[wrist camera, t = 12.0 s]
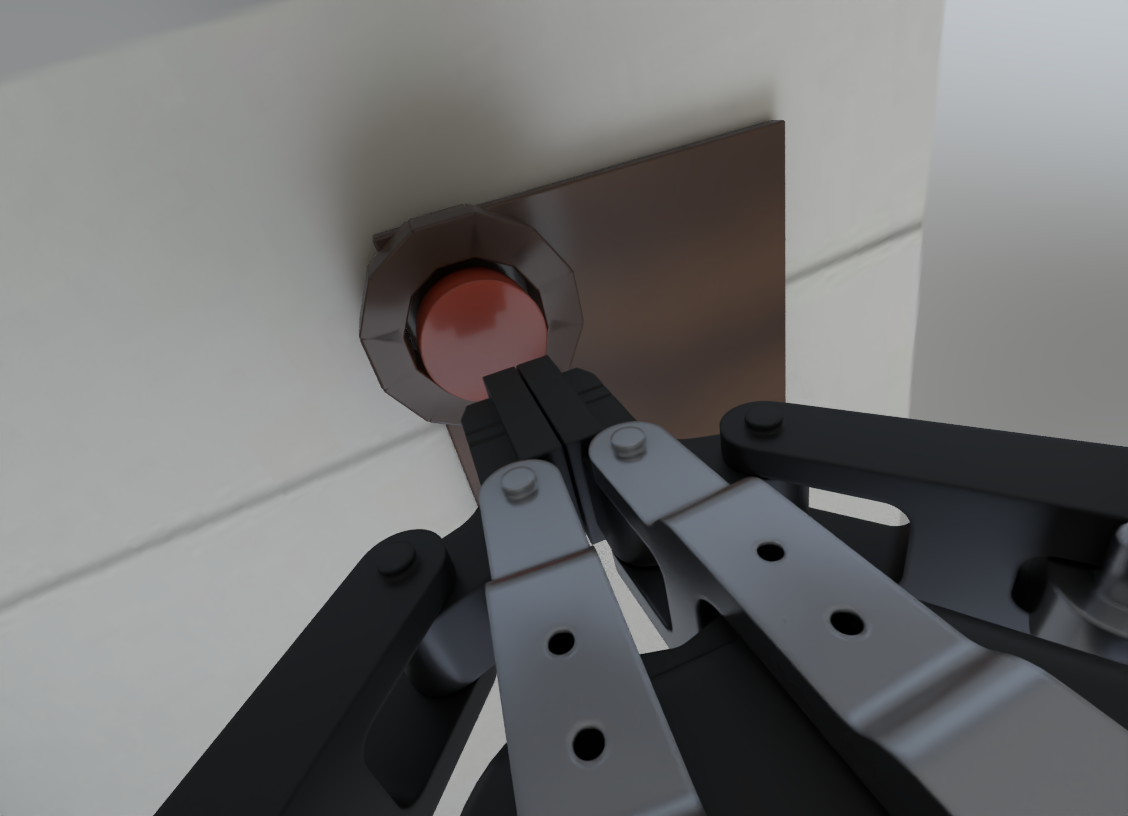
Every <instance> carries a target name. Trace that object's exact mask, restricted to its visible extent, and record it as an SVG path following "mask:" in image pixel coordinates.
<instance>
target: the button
mask: <svg viewBox="0 0 1128 816" xmlns="http://www.w3.org/2000/svg"><path fill="white" fill-rule="evenodd" d="M415 327H416V337H417V342H418V346H419V350H420V354H421V358H422V361H423V364H424V366H425V368H426V370H427V372H428V374H429V375H430V377H431V378H432V379H433V380H434V382H435V383H436V384H437V385H438V386H440V387H441V388H442V389H443V390H445V391H446V392H448V393H449V394H451V395H453V396H456V397H458V398H461V399H464V400H470V401H482V400H485V399H488V398H489V397H488V394H487V391H486V388H485V385H484V382H483V378H482V377H484V376H487V375H490V374H492V373H495V372H498V371H501V370H504V369H507V368H510V367H513V366H514V367H515V369H516V365H519V364H522V363H525V362H527V361H530V360H533V359H536V358H539V357H542V356H545V353H546V348H547V339H548V338H547V327H546V322H545V319H544V316H543V314H542V312H541V310H540V308H539V307H538V305H537V304H536V302H535V301H534V300H533V299H532V298H531V297H530V296H529V295H528V294H527V293H526V292H525V290H524V289H523V288H522V287H521V286H520V285H519V284H518V283H517V282H515V281H514V280H513V279H512V278H510V277H509V276H507V275H506V274H504V273H501V272H499V271H496V270H493V269H489V268H483V267H471V268H464V269H460V270H457V271H454V272H452V273H449V274H448V275H446V276H444V277H442V278H441V279H440V280H438V281H437V282H436V283H435V284H434V285H433V286H432V287H431V288H430V289H429V290H428V291H427V293H426V294H425V296H424V297H423V299H422V301H421V303H420V305H419V308H418V311H417V315H416V323H415Z"/></svg>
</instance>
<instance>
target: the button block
mask: <svg viewBox="0 0 1128 816" xmlns="http://www.w3.org/2000/svg"><path fill="white" fill-rule="evenodd" d="M373 242H374V244H375V247H376V249H377V252H378V253H377V254H376V256H375V257H374V258H373V259H372V260H371V261H370V263H369V264H368V266H367V273H366V280H365V286H364V293H363V299H362V306H361V312H360V322H359V338H360V341H361V344H362V346H363V348H364V350H365V353H366V355H367V357H368V359H369V361H370V364H371V366H372V368H373V370H374V373H375V375H376V377H377V379H378V381H379V384H380V386H381V388H382V389H383V390H384V392H385V393H387V394H388V395H390V396H391V397H393V398H394V399H395V400H397V401H398V402H400V403H401V404H403V405H404V406H406V407H407V408H408V409H410V410H411V411H413V412H414V413H416V414H417V415H419V416H420V417H421V418H423V419H424V420H426V421H429V422H431V423H440V424H446V426H447V429H448V431H449V434H450V436H451V439H452V442H453V444H454V447H455V449H456V452H457V454H458V457H459V459H460V462H461V464H462V467H463V469H464V472H465V474H466V477H467V480H468V482H469V485H470V487H471V490H472V492H473V495H474V497H475V500H476V502H477V505H478V506H479V491H480V488H481V485H480V481H479V478H478V475H477V472H476V468H475V465H474V462H473V459H472V455H471V452H470V449H469V445H468V442H467V439H466V436H465V433H464V430H463V426H462V423H461V418H462V416H463V413H464V411H465V409H466V406H467V405H470V404H473V403H476V402H479V401H470V400H464V399H461V398H458V397H456V396H453V395H451V394H449V393H448V392H446V391H445V390H443V389H442V388H441V387H440V386H438V385H437V384H436V383H435V382H434V380H433V379H432V378H431V377H430V375H429V374H428V372H427V370H426V368H425V366H424V364H423V361H422V358H421V354H420V350H419V346H418V342H417V337H416V327H415V323H416V315H417V311H418V308H419V305H420V303H421V301H422V299H423V297H424V296H425V294H426V293H427V291H428V290H429V289H430V288H431V287H432V286H433V285H434V284H435V283H436V282H437V281H438V280H440V279H441V278H442V277H444V276H446V275H448V274H449V273H452V272H454V271H457V270H460V269H464V268H471V267H483V268H489V269H493V270H496V271H499V272H501V273H504V274H506V275H507V276H509V277H510V278H512V279H513V280H514V281H515V282H517V283H518V284H519V285H520V286H521V287H522V288H523V289H524V290H525V292H526V293H527V294H528V295H529V296H530V297H531V298H532V299H533V300H534V301H535V302H536V304H537V305H538V307H539V308H540V310H541V312H542V314H543V316H544V319H545V322H546V327H547V338H548V339H547V348H546V353H545V355H548V356H549V357H550V358H551V360H552V361H553V362H554V364H555V365H556V366H557V367H558V369H559V370H560V371H561V373H562V372H565V371H568V370H571V369H574V368H580V369H583V370H585V371H588V372H591V373H594V374H595V375H596V376H597V378H598V379H599V380H600V381H601V382H602V383H603V384H604V386H606V387H607V389H608V390H609V391H610V392H611V394H612V395H614V396H615V397H616V398H617V400H618V401H619V402H620V403H621V404H622V405H623V406H624V407H625V408H626V410H627V411H628V412H629V413H630V414H631V415H632V416H633V417H634V418H635V419H636V421H644V422H650V423H653V424H656V425H659V426H661V427H662V428H664V429H665V430H666V431H667V432H668V433H670V434H671V435H672V436H673V437H674V438H676V439H691V438H698V437H704V436H711V435H717V434H720V427H719V425H720V421H721V418H722V417H723V416H724V414H725V413H727V412H728V411H729V410H731V409H732V408H734V407H736V406H739V405H742V404H745V403H749V402H755V401H776V402H784V403H785V121H784V120H771V121H768V122H764V123H761V124H757V125H754V126H750V127H747V128H743V129H740V130H736V131H733V132H729V133H726V134H722V135H719V136H715V137H712V138H708V139H705V140H702V141H698V142H695V143H691V144H688V145H684V146H681V147H677V148H674V149H670V150H667V151H663V152H660V153H656V154H653V155H649V156H646V157H642V158H639V159H636V160H632V161H629V162H625V163H622V164H618V165H615V166H611V167H608V168H604V169H601V170H597V171H594V172H590V173H587V174H583V175H580V176H576V177H573V178H570V179H566V180H563V181H559V182H556V183H552V184H549V185H545V186H542V187H538V188H535V189H531V190H528V191H524V192H521V193H517V194H514V195H510V196H507V197H504V198H500V199H497V200H493V201H490V202H486V203H483V204H479V205H476V206H472V205H469V204H465V205H464V204H461V205H457V206H454V207H450V208H447V209H443V210H440V211H436V212H433V213H429V214H426V215H422V216H419V217H416V218H412V219H410V220H408V221H407V222H405V223H404V224H403V225H402V226H401V227H399V228H396V229H392V230H389V231H385V232H382V233H378V234H375V235H374V236H373ZM406 326H407V328H408V330H409V333H410V335H411V338H412V340H413V343H414V345H415V348H416V350H417V351H416V350H415V349H414V348H413V345H412V343H411V340H410V338H409V335H408V333H407V330H406Z"/></svg>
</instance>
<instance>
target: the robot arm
mask: <svg viewBox="0 0 1128 816" xmlns="http://www.w3.org/2000/svg"><path fill="white" fill-rule="evenodd" d="M482 378H483V382H484V385H485V388H486V391H487V394H488V397H489V398H488V399H485V400H482V401H479V402H476V403H473V404H470V405H467V406H466V409H465V411H464V413H463V416H462V418H461V423H462V426H463V430H464V433H465V436H466V439H467V442H468V445H469V449H470V452H471V455H472V459H473V462H474V465H475V468H476V472H477V475H478V478H479V481H480V485H481V488H480V491H479V506H478V508H477V510H476V511H475V512H474V514H473V515H472V516H471V517H470V518H469V519H468V520H467V521H466V522H465V523H464V524H463V525H461V526H460V527H459V528H457V529H456V530H454V531H453V532H451V533H450V534H448V535H447V536H445V537H444V538H442V539H441V537H440V536H439V535H437V534H436V533H434V532H432V531H429V530H424V529H415V530H408V531H404V532H400V533H397V534H395V535H393V536H390V537H388V538H386V539H385V540H383V541H381V542H380V543H378V544H377V545H376V546H374V547H373V548H372V549H371V550H369V551H368V552H367V553H366V554H365V556H364V557H363V558H362V559H361V560H360V561H359V563H358V564H357V565H356V566H355V567H354V569H353V570H352V571H351V572H350V574H349V575H348V576H347V577H346V579H345V580H344V581H343V582H342V584H341V585H340V586H339V587H338V588H337V590H336V591H335V592H334V593H333V595H332V596H331V597H330V598H329V600H328V601H327V602H326V603H325V604H324V606H323V607H322V608H321V609H320V611H319V612H318V613H317V614H316V616H315V617H314V618H313V619H312V621H311V622H310V623H309V624H308V625H307V627H306V628H305V629H304V630H303V632H302V633H301V634H300V635H299V637H298V638H297V639H296V640H295V642H294V643H293V644H292V645H291V646H290V648H289V649H288V650H287V651H286V653H285V654H284V655H283V656H282V658H281V659H280V660H279V661H278V662H277V664H276V665H275V666H274V667H273V669H272V670H271V671H270V672H269V674H268V675H267V676H266V677H265V679H264V680H263V681H262V682H261V683H260V685H259V686H258V687H257V688H256V690H255V691H254V692H253V693H252V695H251V696H250V697H249V698H248V699H247V701H246V702H245V703H244V704H243V706H242V707H241V708H240V709H239V711H238V712H237V713H236V714H235V716H234V717H233V718H232V719H231V720H230V722H229V723H228V724H227V725H226V727H225V728H224V729H223V730H222V732H221V733H220V734H219V735H218V737H217V738H216V739H215V740H214V741H213V743H212V744H211V745H210V746H209V748H208V749H207V750H206V751H205V753H204V754H203V755H202V756H201V757H200V759H199V760H198V761H197V762H196V764H195V765H194V766H193V767H192V769H191V770H190V771H189V772H188V774H187V775H186V776H185V777H184V778H183V780H182V781H181V782H180V783H179V785H178V786H177V787H176V788H175V790H174V791H173V792H172V793H171V795H170V796H169V797H168V798H167V799H166V801H165V802H164V803H163V804H162V806H161V807H160V808H159V809H158V811H157V812H156V813H155V814H154V815H153V816H433V814H434V812H435V810H436V807H437V805H438V803H439V801H440V799H441V796H442V794H443V792H444V790H445V788H446V786H447V783H448V781H449V779H450V777H451V775H452V773H453V770H454V768H455V766H456V764H457V762H458V760H459V757H460V755H461V753H462V751H463V749H464V747H465V744H466V742H467V740H468V738H469V736H470V734H471V731H472V729H473V727H474V725H475V723H476V721H477V718H478V716H479V714H480V712H481V710H482V708H483V705H484V703H485V701H486V699H487V697H488V694H489V692H490V690H491V688H492V686H493V684H494V681H495V678H496V674H497V677H498V684H499V691H500V698H501V705H502V712H503V719H504V726H505V733H506V740H507V743H506V744H505V745H504V746H503V747H502V748H501V750H500V751H499V752H498V753H497V755H496V756H495V757H494V758H493V759H492V761H491V762H490V763H489V765H488V766H487V768H486V769H485V771H484V772H483V774H482V775H481V777H480V778H479V780H478V781H477V783H476V785H475V787H474V789H473V791H472V792H471V794H470V796H469V798H468V800H467V802H466V804H465V806H464V808H463V810H462V813H461V815H460V816H1128V447H1123V446H1115V445H1107V444H1100V443H1092V442H1084V441H1077V440H1069V439H1061V438H1054V437H1046V436H1038V435H1030V434H1023V433H1015V432H1007V431H1000V430H991V429H984V428H976V427H969V426H961V425H954V424H946V423H938V422H930V421H923V420H914V419H907V418H900V417H892V416H884V415H877V414H869V413H861V412H853V411H846V410H838V409H830V408H823V407H815V406H807V405H800V404H792V403H784V402H776V401H755V402H749V403H745V404H742V405H739V406H736V407H734V408H732V409H731V410H729V411H728V412H727V413H725V414H724V416H723V417H722V418H721V421H720V425H719V427H720V434H717V435H711V436H704V437H698V438H691V439H676V438H674V437H673V436H672V435H671V434H670V433H668V432H667V431H666V430H665V429H664V428H662V427H661V426H659V425H656V424H653V423H650V422H644V421H636V419H635V418H634V417H633V416H632V415H631V414H630V413H629V412H628V411H627V410H626V408H625V407H624V406H623V405H622V404H621V403H620V402H619V401H618V400H617V398H616V397H615V396H614V395H612V394H611V392H610V391H609V390H608V389H607V387H606V386H604V384H603V383H602V382H601V381H600V380H599V379H598V378H597V376H596V375H595V374H594V373H591V372H588V371H585V370H583V369H580V368H574V369H571V370H568V371H565V372H562V373H561V371H560V370H559V369H558V367H557V366H556V365H555V364H554V362H553V361H552V360H551V358H550V357H549V356H548V355H545V356H542V357H539V358H536V359H533V360H530V361H527V362H525V363H522V364H519V365H516V369H515V367H514V366H513V367H510V368H507V369H504V370H501V371H498V372H495V373H492V374H490V375H487V376H484V377H482ZM809 487H812V488H817V489H821V490H826V491H831V492H836V493H841V494H845V495H850V496H855V497H860V498H864V499H869V500H874V501H879V502H883V503H887V504H890V505H892V506H895V507H896V508H898V509H900V510H901V511H902V512H903V513H904V514H906V516H907V517H908V519H909V521H910V523H908V524H906V525H902V526H888V525H884V524H879V523H875V522H871V521H866V520H862V519H858V518H853V517H849V516H844V515H840V514H836V513H831V512H827V511H823V510H818V509H814V508H810V507H809ZM585 532H586V534H587V536H588V538H589V540H590V542H591V544H592V545H593V544H595V543H598V542H600V541H603V540H605V539H606V540H607V542H608V544H609V546H610V547H611V549H612V553H613V558H614V562H615V566H616V570H617V572H618V574H619V575H620V577H621V578H622V580H623V581H624V583H625V584H626V585H627V587H628V588H629V590H630V591H631V593H632V594H633V596H634V597H635V599H636V600H637V602H638V603H639V604H640V606H641V607H642V609H643V610H644V612H645V613H646V615H647V616H648V618H649V619H650V621H651V622H652V624H653V625H654V626H655V628H656V629H657V631H658V632H659V634H660V635H661V637H662V638H663V640H664V641H665V643H666V644H667V646H668V647H669V649H667V650H661V651H656V652H650V653H645V654H639V652H638V650H637V648H636V645H635V643H634V640H633V638H632V635H631V633H630V631H629V628H628V626H627V623H626V621H625V618H624V616H623V614H622V611H621V609H620V606H619V604H618V601H617V599H616V597H615V594H614V592H613V589H612V587H611V585H610V582H609V580H608V577H607V575H606V572H605V570H604V568H603V565H602V563H601V560H600V558H599V556H598V553H597V551H596V549H595V547H594V546H590V545H589V542H588V540H587V537H586V534H585Z"/></svg>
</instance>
